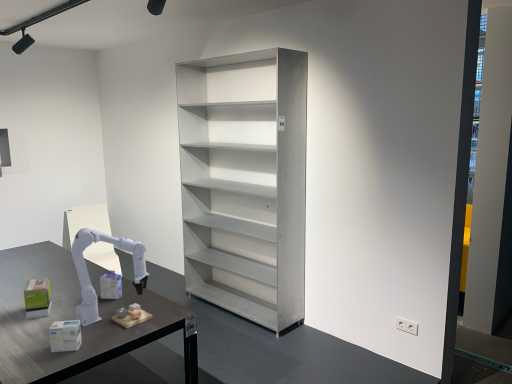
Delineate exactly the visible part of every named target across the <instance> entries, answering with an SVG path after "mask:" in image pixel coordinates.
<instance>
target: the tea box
mask: <svg viewBox="0 0 512 384" xmlns="http://www.w3.org/2000/svg"><path fill="white" fill-rule="evenodd" d="M24 287H25V288H24V290H23V297H24V306H25V318H26V319H27V320H28V319H35V318H36V319H37V318H42V317H44V318H45V317H49V316H50V315H49V314H50V312H51V308H52V307H51V306H52V296H51V295H52V293H51V283H50V277H43V278H42V277H41V278H34V279H28V280H27V282H26V285H25V286H24Z"/></svg>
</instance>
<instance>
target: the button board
mask: <svg viewBox="0 0 512 384" xmlns="http://www.w3.org/2000/svg"><path fill="white" fill-rule="evenodd" d="M127 310H128V315H126V316H124V317H121V318H120V317H119V316H117V315H116V314H115V315H113V316H111V320H112V321H113V322H115V323H117V324H119V325H120V326H122V327H124V328H125V329H129V328H131V327H134V326H137V325H139V324H141V323H143V322H146V321H149V320H151V319H153V314H151V313H149V312H147V311H145V310H144V309H141V310H140V311H141V314H142V316H141V317H138V318H135V319H133V318H132V317H130V316H129V312H130V311H129V309H127Z"/></svg>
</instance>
